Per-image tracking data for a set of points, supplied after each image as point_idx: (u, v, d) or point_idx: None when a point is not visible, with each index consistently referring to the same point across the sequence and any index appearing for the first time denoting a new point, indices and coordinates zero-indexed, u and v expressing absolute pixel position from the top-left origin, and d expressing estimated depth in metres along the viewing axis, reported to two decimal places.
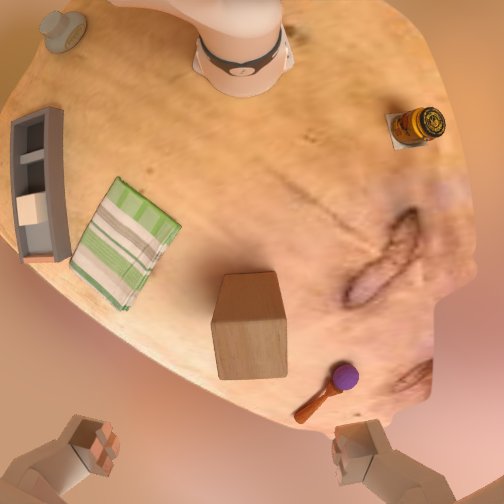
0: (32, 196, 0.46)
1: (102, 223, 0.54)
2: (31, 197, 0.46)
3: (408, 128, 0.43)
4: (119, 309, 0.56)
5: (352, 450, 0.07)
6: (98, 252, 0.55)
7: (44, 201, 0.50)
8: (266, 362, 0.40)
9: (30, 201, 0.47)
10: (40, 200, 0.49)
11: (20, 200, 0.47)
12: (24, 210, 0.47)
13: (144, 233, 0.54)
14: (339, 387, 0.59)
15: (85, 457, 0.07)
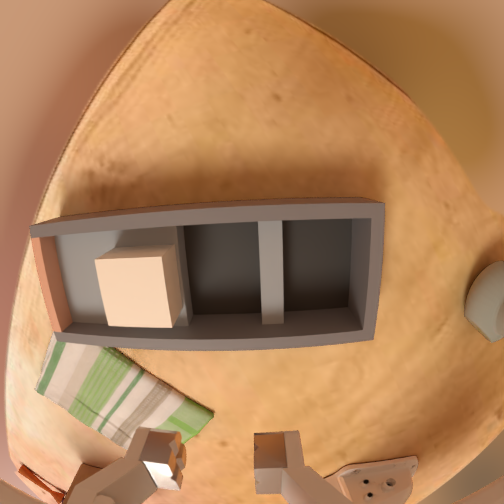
0: (165, 318, 0.23)
1: (140, 393, 0.32)
2: (164, 314, 0.23)
3: None
4: (37, 391, 0.31)
5: (261, 460, 0.07)
6: (96, 376, 0.32)
7: None
8: None
9: (153, 311, 0.23)
10: None
11: (154, 275, 0.22)
12: (132, 287, 0.22)
13: None
14: None
15: (158, 473, 0.07)
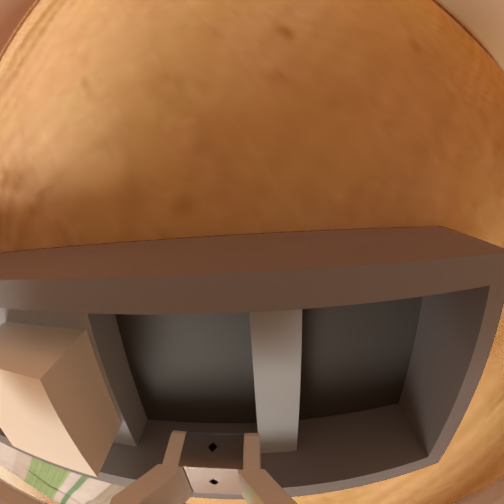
0: (82, 465, 0.09)
1: (97, 485, 0.18)
2: (78, 460, 0.09)
3: None
4: None
5: (218, 460, 0.07)
6: None
7: None
8: None
9: (61, 452, 0.09)
10: None
11: (41, 406, 0.08)
12: (18, 412, 0.08)
13: None
14: None
15: (197, 477, 0.07)
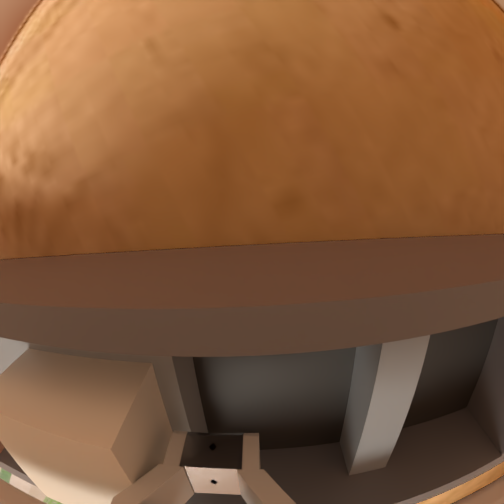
0: None
1: None
2: None
3: None
4: None
5: (217, 460, 0.07)
6: None
7: None
8: None
9: None
10: None
11: (106, 474, 0.06)
12: (63, 474, 0.06)
13: None
14: None
15: (198, 477, 0.07)
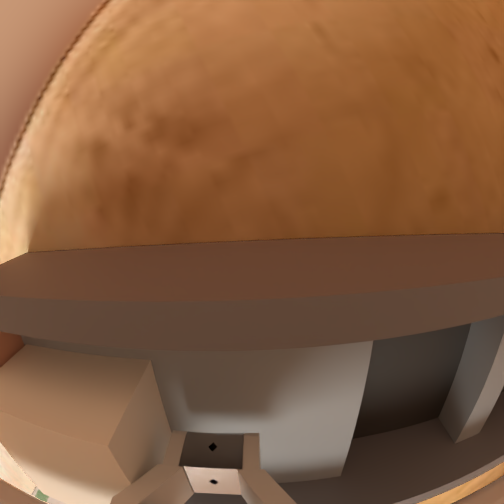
0: None
1: None
2: None
3: None
4: (37, 497, 0.15)
5: (217, 460, 0.07)
6: None
7: None
8: None
9: None
10: None
11: (103, 472, 0.06)
12: (60, 471, 0.06)
13: None
14: None
15: (197, 477, 0.07)
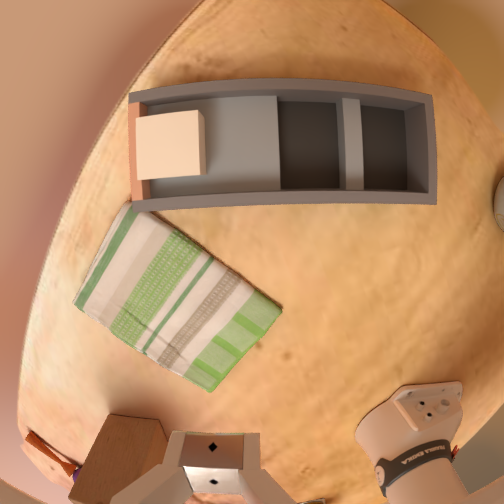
0: (194, 166, 0.26)
1: (206, 286, 0.35)
2: (193, 162, 0.25)
3: None
4: (76, 304, 0.33)
5: (218, 460, 0.07)
6: (156, 271, 0.34)
7: None
8: None
9: (184, 160, 0.25)
10: None
11: (189, 126, 0.25)
12: (167, 138, 0.25)
13: (195, 349, 0.37)
14: (75, 479, 0.44)
15: (197, 477, 0.07)
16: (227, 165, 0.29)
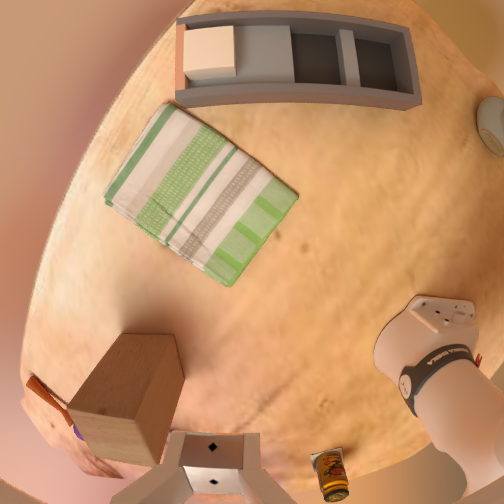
0: (229, 60, 0.29)
1: (231, 170, 0.38)
2: (229, 58, 0.29)
3: (330, 475, 0.47)
4: (106, 196, 0.37)
5: (218, 460, 0.07)
6: (187, 159, 0.38)
7: (220, 75, 0.33)
8: (104, 449, 0.28)
9: (222, 56, 0.29)
10: (222, 72, 0.31)
11: (226, 35, 0.28)
12: (209, 43, 0.29)
13: (217, 238, 0.41)
14: (75, 428, 0.48)
15: (197, 477, 0.07)
16: (253, 70, 0.33)
